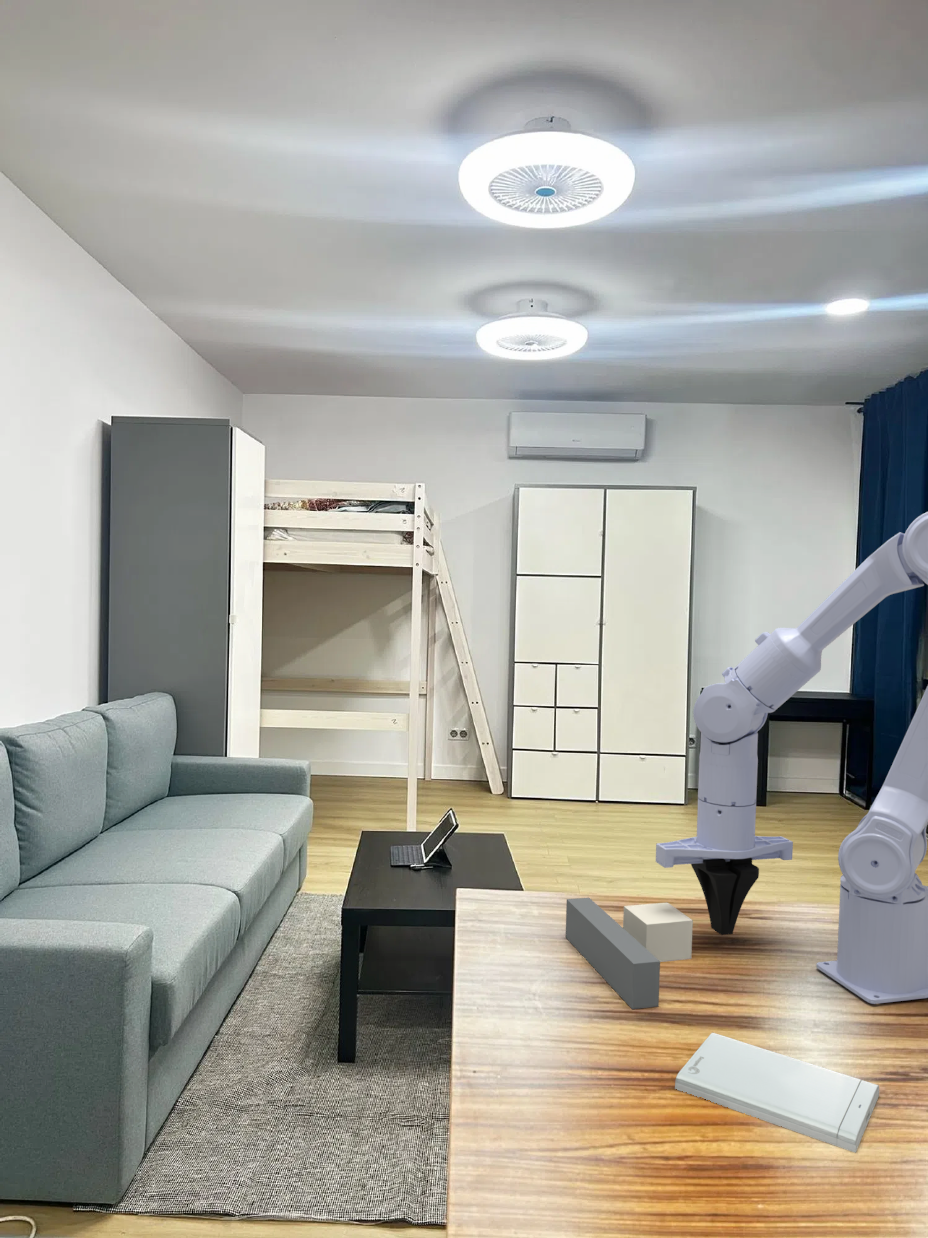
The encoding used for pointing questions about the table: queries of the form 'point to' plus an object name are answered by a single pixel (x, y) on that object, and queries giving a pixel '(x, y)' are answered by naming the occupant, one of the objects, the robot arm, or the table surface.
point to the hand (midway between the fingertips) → (721, 931)
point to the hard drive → (780, 1090)
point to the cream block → (660, 930)
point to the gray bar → (613, 953)
